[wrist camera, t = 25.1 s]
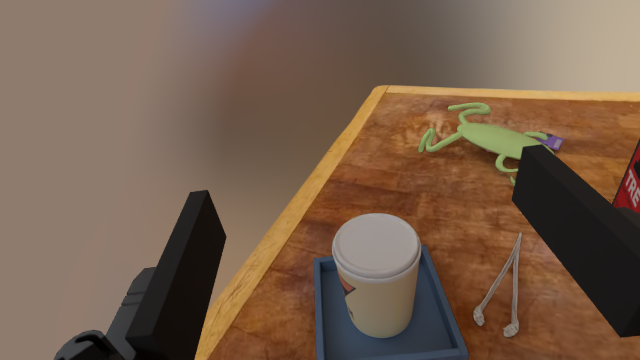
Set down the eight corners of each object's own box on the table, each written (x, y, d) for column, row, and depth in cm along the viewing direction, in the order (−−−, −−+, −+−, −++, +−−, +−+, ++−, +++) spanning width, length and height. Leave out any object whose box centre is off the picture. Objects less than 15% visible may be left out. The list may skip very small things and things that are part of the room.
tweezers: (515, 341, 39) (518, 329, 38) (470, 323, 41) (472, 311, 40) (537, 245, 51) (540, 234, 50) (501, 235, 53) (503, 225, 52)
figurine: (458, 117, 83) (460, 94, 80) (588, 153, 65) (597, 125, 61) (406, 148, 75) (406, 124, 72) (537, 200, 56) (545, 171, 53)
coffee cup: (344, 279, 48) (334, 212, 42) (415, 279, 47) (416, 209, 40) (339, 344, 41) (326, 275, 34) (423, 347, 39) (427, 275, 32)
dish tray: (320, 383, 38) (317, 371, 36) (316, 271, 51) (313, 258, 49) (466, 368, 37) (469, 354, 36) (425, 257, 50) (425, 244, 49)
